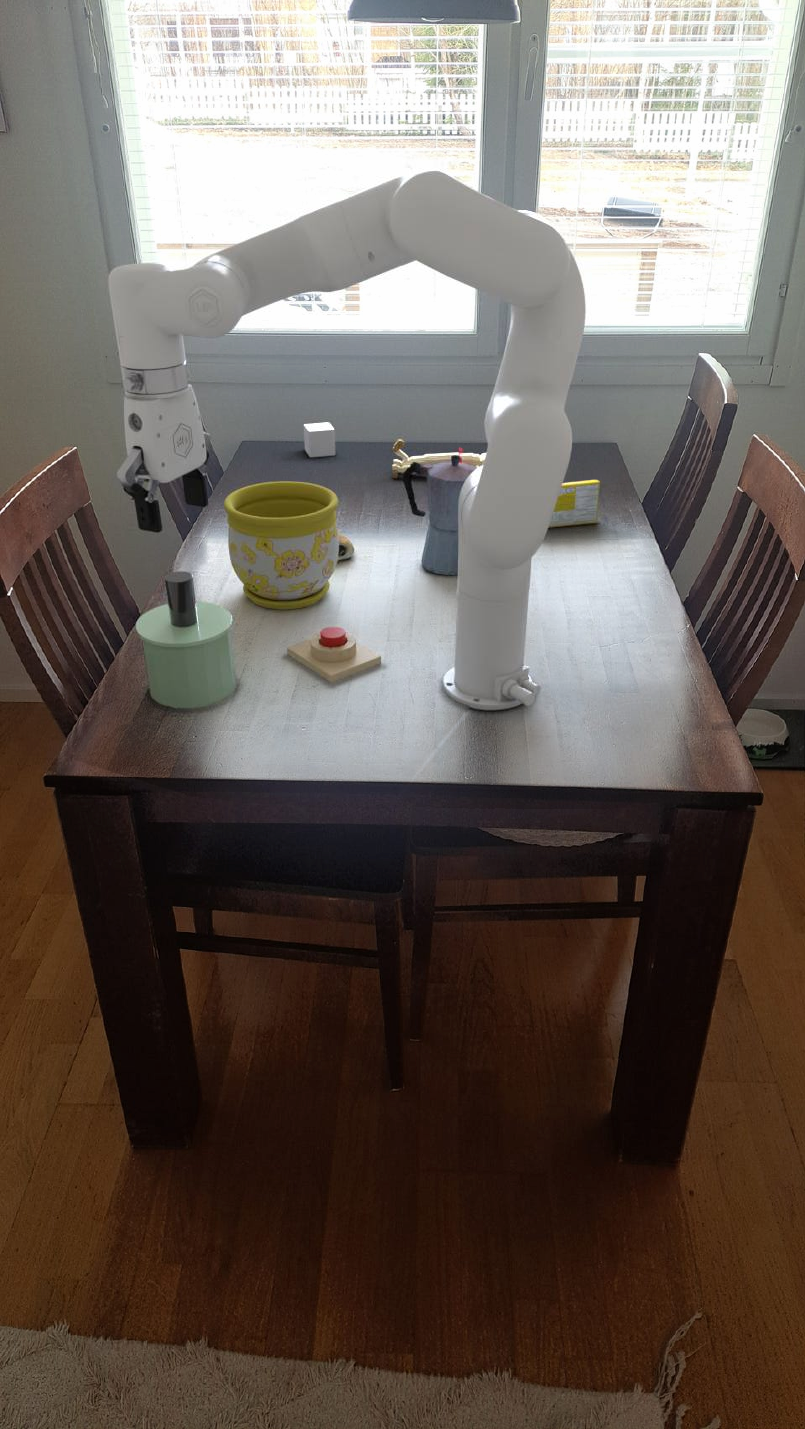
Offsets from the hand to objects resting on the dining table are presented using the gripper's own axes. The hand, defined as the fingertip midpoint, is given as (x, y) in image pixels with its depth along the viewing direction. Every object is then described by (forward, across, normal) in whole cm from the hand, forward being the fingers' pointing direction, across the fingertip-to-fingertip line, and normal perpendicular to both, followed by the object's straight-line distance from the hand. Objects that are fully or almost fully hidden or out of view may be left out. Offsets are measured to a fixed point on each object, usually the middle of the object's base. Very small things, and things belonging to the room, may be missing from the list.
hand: (174, 517), depth 128 cm
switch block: (+26, +15, -13) cm, 33 cm away
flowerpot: (+26, +33, +5) cm, 42 cm away
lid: (+15, 0, 0) cm, 15 cm away
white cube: (+26, +103, +38) cm, 113 cm away
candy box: (+26, +82, -26) cm, 90 cm away
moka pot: (+26, +55, -14) cm, 62 cm away
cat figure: (+26, +101, +4) cm, 104 cm away
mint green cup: (+25, 0, +1) cm, 25 cm away
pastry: (+26, +51, +6) cm, 57 cm away
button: (+22, +15, -13) cm, 30 cm away
